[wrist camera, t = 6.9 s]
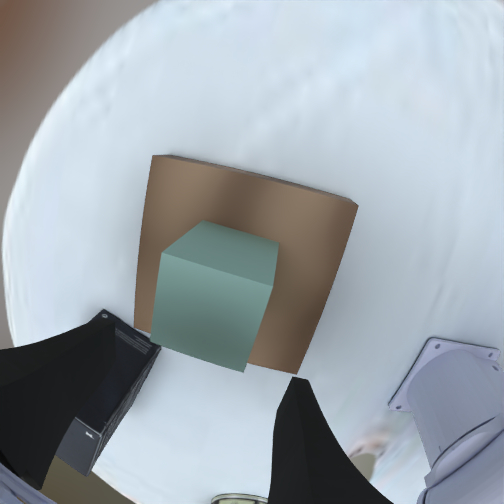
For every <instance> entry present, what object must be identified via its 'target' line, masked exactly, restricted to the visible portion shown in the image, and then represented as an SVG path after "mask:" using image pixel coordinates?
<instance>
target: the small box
mask: <svg viewBox="0 0 504 504" xmlns="http://www.w3.org/2000/svg"><path fill="white" fill-rule="evenodd" d="M101 317H104V318H107V319H109V320H112V321H114V322H115V343H116V360H115V362H114V364H113V366H112V367H111V369H110V371H109V372H108V374H107V376H106V378H105V379H104V380H103V382H102V383H101V384H100V385H99V387H98V388H97V389H96V391H95V392H94V393H93V394H92V396H91V397H90V398H89V399H88V401H87V402H86V403H85V405H84V406H83V407H82V408H81V410H80V411H79V412H78V414H77V415H76V417H75V418H74V420H73V421H72V423H71V425H70V426H69V428H68V430H67V432H66V433H65V435H64V437H63V439H62V441H61V443H60V445H59V447H58V449H57V451H56V453H55V455H56V456H58V457H59V458H60V459H61V460H63V461H64V462H66V463H67V464H68V465H70V466H71V467H72V468H74V469H75V470H77V471H78V472H80V473H81V474H83V475H84V476H86V477H87V476H88V475H89V474H90V472H91V470H92V468H93V466H94V464H95V462H96V461H97V459H98V457H99V456H100V454H101V452H102V450H103V449H104V447H105V446H106V444H107V443H108V441H109V439H110V438H111V436H112V435H113V433H114V432H115V430H116V428H117V427H118V425H119V424H120V422H121V421H122V419H123V418H124V416H125V415H126V413H127V412H128V410H129V409H130V407H131V406H132V404H133V402H134V400H135V398H136V396H137V394H138V392H139V391H140V389H141V387H142V385H143V382H144V381H145V379H146V378H147V376H148V374H149V372H150V369H151V368H152V366H153V364H154V361H155V359H156V357H157V355H158V353H159V351H160V350H161V348H160V346H158V345H157V344H155V343H153V342H150V340H149V339H147V338H146V337H144V336H142V335H141V334H139V333H138V332H136V331H135V330H133V329H132V328H130V327H129V326H127V325H126V324H124V323H123V322H121V321H120V320H119V319H118V318H116V317H114V316H113V315H112V314H110V313H108V312H107V311H105V310H102V311H101V312H99V313H98V314H97V315H96V316H95V317H94V318H93V319H92V320H90V321H89V322H91V321H94V320H96V319H99V318H101ZM89 322H88V323H89Z"/></svg>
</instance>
